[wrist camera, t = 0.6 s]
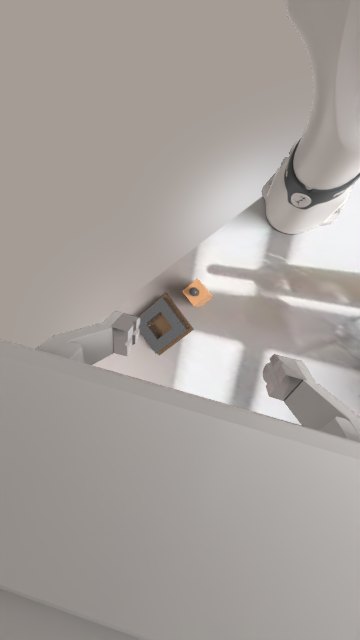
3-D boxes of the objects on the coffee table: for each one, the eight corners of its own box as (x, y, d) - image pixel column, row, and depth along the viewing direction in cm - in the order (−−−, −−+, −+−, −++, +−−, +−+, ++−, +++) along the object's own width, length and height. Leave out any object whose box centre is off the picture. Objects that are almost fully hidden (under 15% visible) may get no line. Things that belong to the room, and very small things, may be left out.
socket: (166, 293, 53) (162, 292, 50) (193, 329, 51) (191, 330, 48) (135, 320, 57) (129, 321, 53) (159, 354, 55) (155, 357, 52)
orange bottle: (204, 285, 50) (195, 276, 36) (213, 297, 49) (208, 292, 35) (192, 295, 51) (179, 290, 37) (201, 306, 50) (191, 306, 37)
